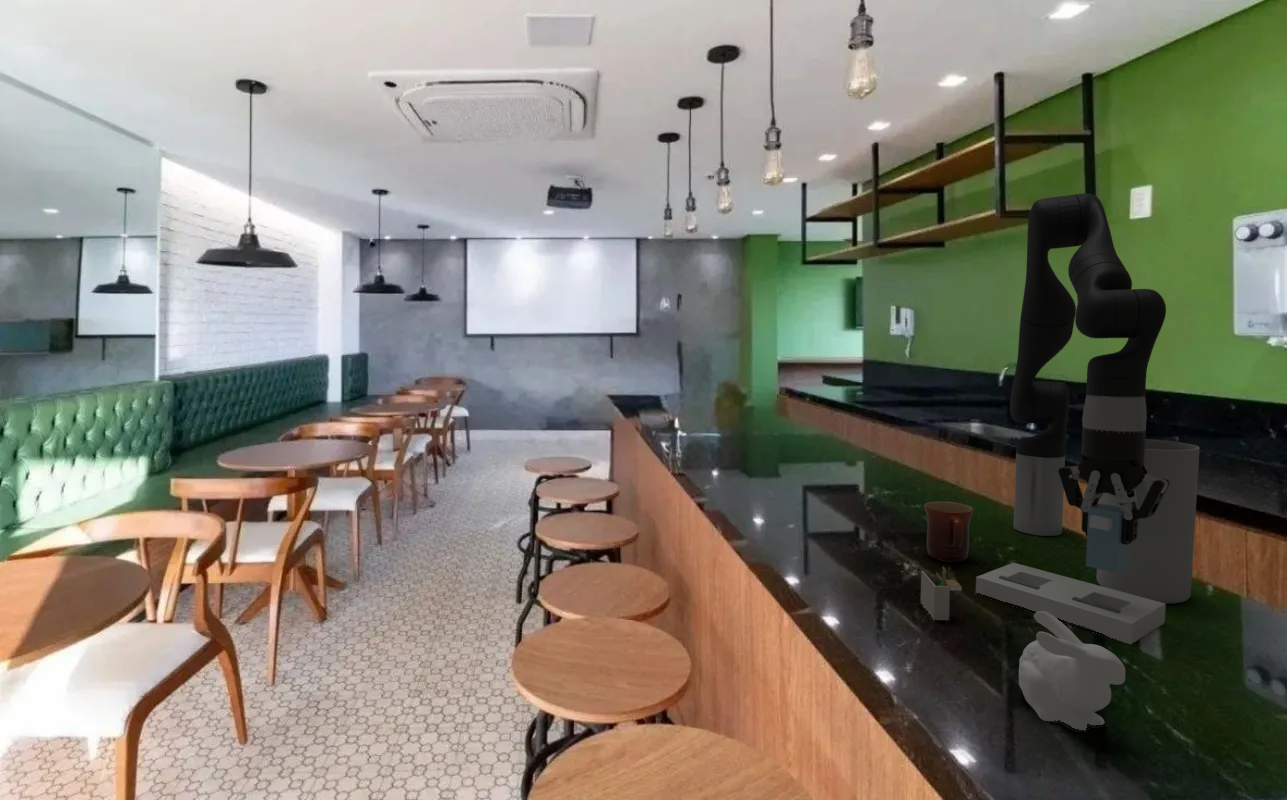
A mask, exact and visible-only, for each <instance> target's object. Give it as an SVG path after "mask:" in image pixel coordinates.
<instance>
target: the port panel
mask: <svg viewBox="0 0 1287 800" xmlns="http://www.w3.org/2000/svg"><path fill="white" fill-rule="evenodd" d="M976 593H980V594H982V595H986V596H989V597H992V598H995V599H998V600H1000V601H1003V602H1008V603H1011V604H1014V605H1018V606H1021V607H1024V608H1027V609H1029V610H1032V611H1035V612H1041V611H1045V612H1048V613H1050V614H1051V615H1053V616H1054V617H1056V618H1059V619H1061V620H1064V621H1067V622H1070V623H1073V624H1076V625H1080V626H1084V627H1086V628H1089V629H1091V630H1094V631H1096V632H1099V633H1102V634H1104V635H1106V636H1108V637H1107V638H1109V637H1110V638H1109V639H1112V638H1113V640H1115V639H1116V641H1119V642H1122V643H1125V644H1128V645H1133V644H1134V643H1136V642H1137V641H1138V640H1140V639H1142V638H1143V637H1146V636H1147V635H1148V634H1150V633H1152V632H1153V631H1154V630H1156V629H1157V628H1159V627H1161V626H1163V625H1164V624H1165V621H1166V606H1167V604H1165V603H1161V602H1158V601H1154V600H1150V599H1147V598H1143V597H1139V596H1135V595H1132V594H1128V593H1124V592H1121V591H1117V590H1113V589H1109V588H1106V587H1102V586H1100V585H1099V584H1094V583H1090V582H1086V581H1083V580H1080V579H1079V580H1078V579H1077V578H1076V579H1075V578H1072V577H1068V576H1065V575H1061V574H1056V573H1054V572H1050V571H1046V570H1042V569H1038V568H1035V567H1031V566H1027V565H1023V564H1019V563H1018V562H1017V563H1016V562H1012V563H1009V564H1006V565H1003V566H1002V567H999V568H996V569H993V570H991V571H988V572H986V573H983V574H981V575H977V576H976V577H975V594H976ZM1106 636H1105V637H1106Z"/></svg>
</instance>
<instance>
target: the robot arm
mask: <svg viewBox="0 0 1287 800" xmlns="http://www.w3.org/2000/svg"><path fill="white" fill-rule="evenodd" d="M1028 214H1029V215H1028V221H1027V235H1026V237H1027V238H1026V239H1027V241H1026V270H1025V271H1026V272H1025V273H1026V274H1025V281H1024V282H1025V284H1024V292H1023V297H1022V298H1023V299H1022V304H1021V311H1020V320H1019V328H1018V329H1019V334H1018V348H1017V349H1018V350H1017V359H1016V360H1017V361H1016V365H1015V366H1016V367H1015V373H1014V377H1013V382H1012V388H1011V394H1010V401H1009V411H1010V416H1011V418H1012V419H1013V421H1015V422H1017V423H1021V424H1038V425H1039V424H1041V425H1045V424H1046V425H1048V426H1047V428H1046V429H1044V431H1042V432H1039V433H1037V434H1035V435H1031V436H1029V437H1024V438H1021V439H1019V440H1017V443H1016V446H1015V448H1016V449H1015V471H1014V472H1015V475H1014V478H1015V479H1014V503H1013V504H1014V507H1013V508H1014V509H1013V530H1014V529H1015V530H1016V531H1018V532H1021V533H1024V534H1029V535H1033V536H1042V537H1045V536H1046V537H1055V536H1060V535H1062V534H1063V520H1064V519H1063V518H1064V516H1063V515H1064V499H1065V498H1064V494H1065V497H1066V500H1067V503H1068V504H1069V506H1071V507H1076V508H1078V509H1080V510H1081V515H1082V516H1081V530H1082V532H1083V533H1084V534H1085V537H1087V528H1088V507H1091V506H1094V505H1097V504H1100V498H1101V497H1102V495H1103V493H1109V494H1112V495H1115V496H1116V497H1117V501H1118V503H1119V504H1120V506H1121V510H1122V514H1123V517H1124V519H1122V530H1121V544H1125V545H1128V544H1130V543H1132V541H1134V540H1136V538H1137V529H1138V520H1139V519H1140V518H1147V517H1150V516H1152V515H1154V514H1155V512H1156V510H1157V508H1158V506H1159V504H1160V502H1161V500H1162V498H1163V496H1164V494H1165V492H1166V490H1167V488H1168V486H1169V484H1170V482H1169V481H1168V480H1167V479H1159V478H1156V477H1154V476H1151V475H1149V474H1147V470H1146V469H1145V467H1144V454H1145V439H1146V435H1147V433H1146V432H1147V431H1146V429H1147V405H1146V404H1147V403H1146V387H1147V386H1146V385H1147V384H1146V382H1147V372H1148V367H1149V363H1150V362H1149V361H1150V359H1151V355H1152V353H1153V351H1154V350H1153V349H1154V346H1155V344H1156V342H1157V339H1158V336H1159V334H1160V332H1161V330H1162V327H1163V326H1164V325H1163V324H1164V322H1165V319H1166V315H1167V306H1166V302H1165V299H1164V298H1163V296H1162V295H1161V294H1160V293H1159V292H1158V291H1156V290H1154V289H1151V288H1134V289H1132V288H1133V281H1132V276H1131V275H1130V273H1129V271H1128V270H1127V268H1126V267H1125V265H1124V264H1123V262H1122V260H1121V259H1120V257H1119V255H1118V254H1117V252H1116V249H1115V246H1114V241H1113V236H1112V233H1111V229H1110V225H1109V221H1108V218H1107V215H1106V214H1107V213H1106V212H1105V209H1104V205H1103V203H1102V201H1101V200H1100V198H1099V197H1098V196H1097V195H1095V194H1093V193H1075V194H1069V195H1061V196H1053V197H1052V196H1051V197H1046V198H1042V199H1041V198H1040V199H1038V200H1035V201H1034V202H1033V203H1032V206H1031V208H1030V211H1029V213H1028ZM1073 247H1074V248H1075V247H1078V249H1077V250H1076V251H1075V253H1074V254H1073V255H1072V257H1071V259H1070V260H1069V264H1068V266H1067V267H1068V269H1067V270H1068V271H1067V273H1068V278H1069V281H1070V283H1071V286H1072V287H1073V289H1074V291H1075V293H1076V297H1077V305H1076V303H1075V300H1074V298H1073V296H1072V295H1071V294H1070V292H1069V290H1068V289H1067V288H1066V287H1065V285H1064V284H1063V283H1062V282H1061V281H1060V279H1059V278H1058V276H1057V275H1056V273H1055V272H1054V270H1053V268H1052V265H1051V264H1050V262H1049V251H1050V250H1053V249H1054V250H1055V249H1065V248H1073ZM1074 324H1075V326H1076V328H1077V331H1078V332H1080V333H1081V334H1082V335H1084V336H1085V337H1088V338H1091V339H1127V341H1126V343H1125V344H1124V346H1123V347H1122V348H1121V349H1120V350H1119V351H1117V352H1116V351H1115V352H1112V353H1107V354H1102V355H1101V354H1100V355H1097V356H1094V357H1092V358H1090V359H1089V361H1088V363H1087V369H1086V391H1085V392H1086V393H1085V394H1086V395H1085V402H1084V404H1083V411H1082V412H1083V413H1082V418H1081V423H1082V429H1081V430H1082V433H1081V434H1082V436H1081V459H1080V461H1079V462H1078V463H1077V465H1073V466H1071V465H1068V466H1067V465H1066V462H1065V461H1066V443H1067V429H1068V428H1067V427H1068V418H1069V408H1070V392H1069V391H1070V389H1069V387H1068V386H1067V384H1065V382H1062V381H1034V380H1035V378H1036V377H1037V375H1038V373H1040V371H1041V370H1042V368H1043V367H1045V366H1046V365H1047V363H1049V362H1050V361H1052V359H1054V357H1056V355H1058V354H1059V353H1060V352H1061V351H1062V350H1063V349H1064V348H1065V347H1066V346H1067V344H1068V343H1069V341H1070V340H1071V338H1072V336H1073V331H1074ZM1080 474H1081V476H1082V478H1084V480H1085V482H1086V483H1087V486H1086V488H1085V490H1084V493H1082V490H1081V487H1080V484H1079V481H1078V480H1079V478H1080ZM1142 481H1144V482H1145V484H1146V486H1145V489H1146V490H1147V491H1148V493H1147V495H1146V497H1145V499H1144V501H1143V503H1142V505H1141V507H1140V509H1138V505H1137V496H1136V492H1135V488H1136V487H1137V486H1138V485H1139V484H1140V483H1141V482H1142Z"/></svg>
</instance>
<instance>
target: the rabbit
mask: <svg viewBox="0 0 1287 800" xmlns="http://www.w3.org/2000/svg"><path fill="white" fill-rule="evenodd" d="M1033 617H1034V621H1036V622H1037V623H1038V624H1040V625H1041V626H1043V627H1045V628H1046V629H1048V630H1049V631H1050V632H1051V633H1052V634H1053V635H1052V634H1051V633H1049V632H1045V631H1038V632H1037V633H1036V635H1035V637H1036V638H1035V640H1033V641H1031V642H1030V643H1028V644H1027V645H1026V647H1025V648H1024V649H1023V651H1022V655H1021V656H1020V658H1019V661H1018V662H1019V667H1018V686H1019V688H1020V689H1021V691H1022V694H1023V696H1024V697H1023V698H1024V699H1025V701H1026V703H1028V705H1029V706H1030V707H1031V708H1032V709H1033V710H1034V711H1035V713H1036V714H1037V716H1038V717H1039V719H1041V720H1042V721H1044V722H1046V721H1055V720H1056V721H1058V720H1060V721H1061V722H1064V723H1066V724H1068V725H1070V726H1071V727H1072V728H1075V729H1079V730H1084V731H1085V730H1086V728H1087V724H1090V725H1094V726H1095V725H1103V724H1104V723H1105V720H1104V718H1103V717H1102V716H1101V715H1099V714H1097V713H1096V712H1098V711H1101V710H1103V709H1104V708H1106V707H1107V706H1108V705H1109V704H1110V703H1111V700H1112V689H1111V687H1110V685H1116V686H1119V685H1122V684H1123V683H1125V681H1126V667H1125V665H1124V664H1123V662H1122V661H1121V659H1119V658H1118V657H1117V655H1116V654H1114V653H1113V652H1111V651H1110V650H1108V649H1106V648H1105V647H1103V646H1101V645H1098V644H1094V643H1093V644H1092V643H1084V642H1082V641H1081V640H1080V639H1079V638H1078V637H1077V636H1076V635H1075V633H1074V632H1073V631H1072V630H1071V629H1069V627H1067V625H1065V623H1063V622H1061V621H1059V620H1058V619H1057V618H1056V617H1054V616H1053V615H1051V614H1050V613H1048V612H1045V611H1041V612H1036V613H1033ZM1105 724H1106V723H1105Z"/></svg>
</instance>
